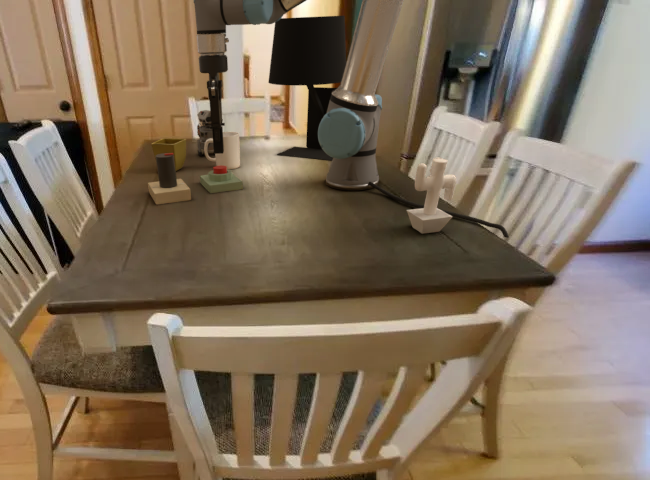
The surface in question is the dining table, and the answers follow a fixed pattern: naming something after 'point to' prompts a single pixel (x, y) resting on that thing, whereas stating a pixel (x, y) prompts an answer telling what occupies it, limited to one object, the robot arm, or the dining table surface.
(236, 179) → the switch box
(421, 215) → the figurine
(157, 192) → the dimmer panel
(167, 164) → the dimmer knob
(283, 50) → the table lamp
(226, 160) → the cup
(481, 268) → the dining table surface
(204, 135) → the figurine
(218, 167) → the button
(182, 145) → the flower pot
